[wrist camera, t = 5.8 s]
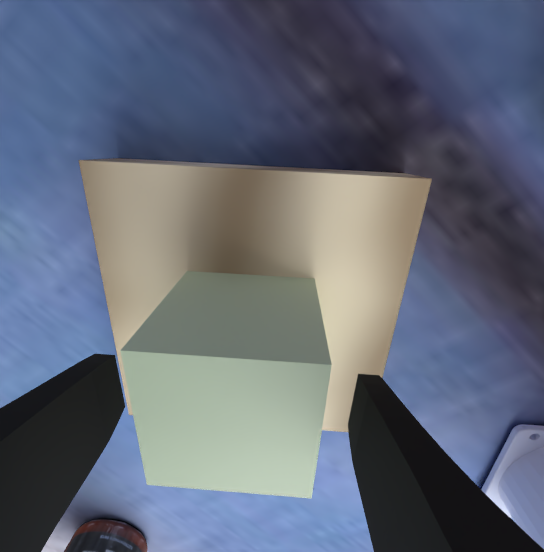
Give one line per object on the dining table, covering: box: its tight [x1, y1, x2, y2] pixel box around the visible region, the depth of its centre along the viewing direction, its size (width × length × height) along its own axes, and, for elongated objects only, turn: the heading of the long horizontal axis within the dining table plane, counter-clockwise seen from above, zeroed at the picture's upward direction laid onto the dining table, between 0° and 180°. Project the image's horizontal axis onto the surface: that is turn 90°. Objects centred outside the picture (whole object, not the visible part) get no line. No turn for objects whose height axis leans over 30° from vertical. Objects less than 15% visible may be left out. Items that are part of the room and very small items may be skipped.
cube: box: [120, 271, 332, 498], centre depth 10 cm, size 5×5×5 cm
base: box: [79, 158, 432, 432], centre depth 14 cm, size 12×12×2 cm
